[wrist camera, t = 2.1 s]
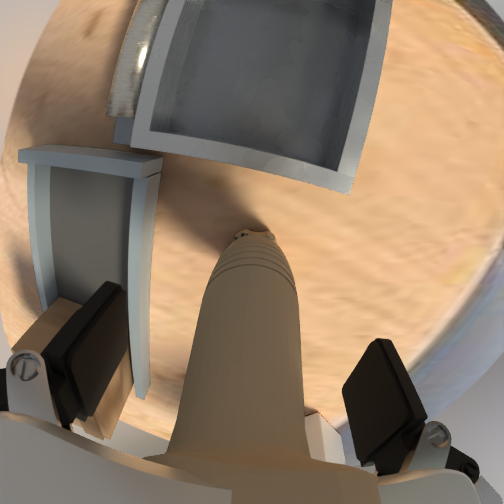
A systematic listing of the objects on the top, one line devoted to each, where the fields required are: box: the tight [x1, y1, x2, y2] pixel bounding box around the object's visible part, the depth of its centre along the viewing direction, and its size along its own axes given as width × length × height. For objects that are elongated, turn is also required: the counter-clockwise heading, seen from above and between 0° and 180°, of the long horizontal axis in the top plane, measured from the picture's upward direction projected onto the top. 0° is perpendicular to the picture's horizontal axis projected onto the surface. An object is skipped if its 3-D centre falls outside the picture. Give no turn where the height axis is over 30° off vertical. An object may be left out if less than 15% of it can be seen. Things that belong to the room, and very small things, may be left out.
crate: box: [11, 296, 134, 440], centre depth 17 cm, size 7×7×7 cm
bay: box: [18, 144, 164, 399], centre depth 17 cm, size 20×9×3 cm, turn 167°
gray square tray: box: [105, 0, 393, 195], centre depth 10 cm, size 11×12×4 cm
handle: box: [142, 229, 381, 504], centre depth 10 cm, size 5×6×15 cm
